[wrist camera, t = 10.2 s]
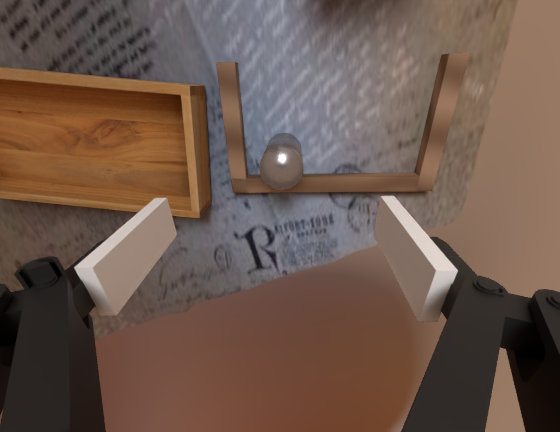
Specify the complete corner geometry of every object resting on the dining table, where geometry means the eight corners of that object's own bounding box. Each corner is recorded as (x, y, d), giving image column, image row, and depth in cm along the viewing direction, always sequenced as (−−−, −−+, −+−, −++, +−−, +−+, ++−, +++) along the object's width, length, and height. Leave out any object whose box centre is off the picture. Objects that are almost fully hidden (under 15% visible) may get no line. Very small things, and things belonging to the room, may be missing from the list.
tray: (6, 181, 37) (-39, 196, 32) (-49, 60, 30) (-119, 56, 25) (213, 200, 37) (200, 219, 32) (207, 84, 30) (189, 85, 24)
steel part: (266, 133, 31) (258, 147, 24) (301, 132, 31) (303, 147, 24) (268, 167, 33) (261, 190, 26) (301, 167, 33) (303, 189, 26)
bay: (219, 63, 28) (216, 62, 27) (461, 54, 26) (470, 52, 25) (235, 188, 35) (232, 192, 34) (426, 186, 33) (432, 191, 32)
